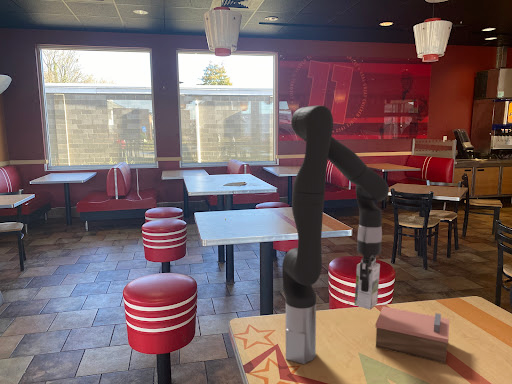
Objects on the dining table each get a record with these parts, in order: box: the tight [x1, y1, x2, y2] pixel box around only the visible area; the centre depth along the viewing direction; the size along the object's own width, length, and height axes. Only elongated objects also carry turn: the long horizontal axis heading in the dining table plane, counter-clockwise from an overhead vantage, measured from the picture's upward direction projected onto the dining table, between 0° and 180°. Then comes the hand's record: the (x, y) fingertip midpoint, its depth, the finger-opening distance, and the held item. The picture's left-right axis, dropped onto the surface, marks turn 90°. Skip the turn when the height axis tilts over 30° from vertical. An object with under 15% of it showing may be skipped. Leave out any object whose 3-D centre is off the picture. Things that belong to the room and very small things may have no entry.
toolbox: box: [375, 328, 448, 365], centre depth 122 cm, size 13×20×6 cm, turn 62°
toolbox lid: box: [374, 306, 450, 344], centre depth 121 cm, size 14×21×4 cm, turn 62°
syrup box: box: [353, 262, 381, 311], centre depth 126 cm, size 6×6×14 cm
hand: (366, 287), depth 127 cm, fingers closed on syrup box, 6 cm apart
